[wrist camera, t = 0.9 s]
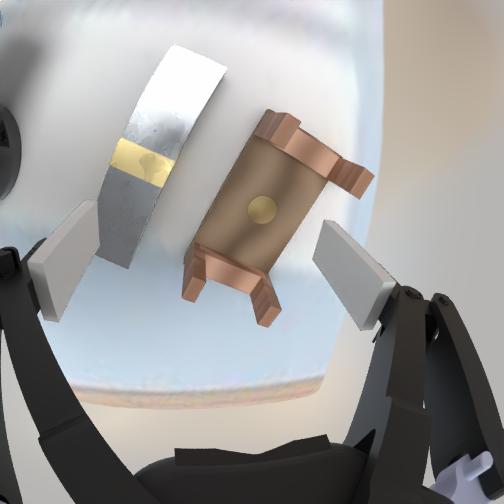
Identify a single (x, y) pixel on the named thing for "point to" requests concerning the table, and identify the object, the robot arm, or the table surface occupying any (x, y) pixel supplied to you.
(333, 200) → the table surface
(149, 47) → the table surface
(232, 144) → the table surface
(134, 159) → the grey metal bar
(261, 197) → the stove stand
